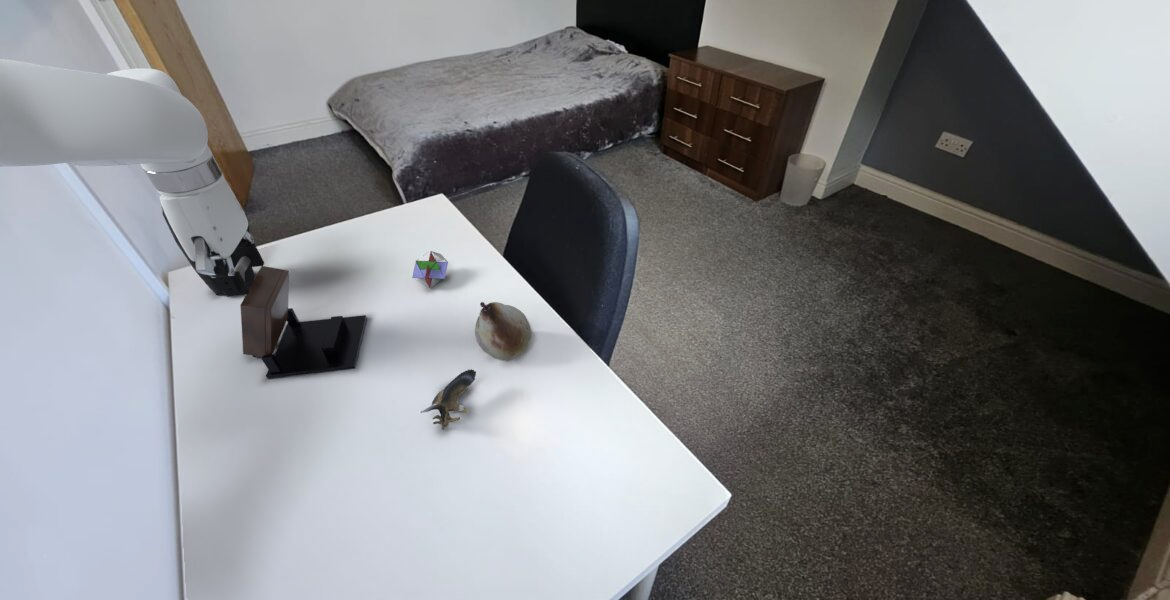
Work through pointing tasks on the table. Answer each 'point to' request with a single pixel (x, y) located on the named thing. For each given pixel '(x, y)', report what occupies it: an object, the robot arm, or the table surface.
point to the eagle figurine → (451, 398)
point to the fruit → (502, 331)
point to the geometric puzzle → (431, 268)
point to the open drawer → (263, 309)
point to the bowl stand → (316, 346)
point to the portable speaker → (212, 281)
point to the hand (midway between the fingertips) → (246, 278)
